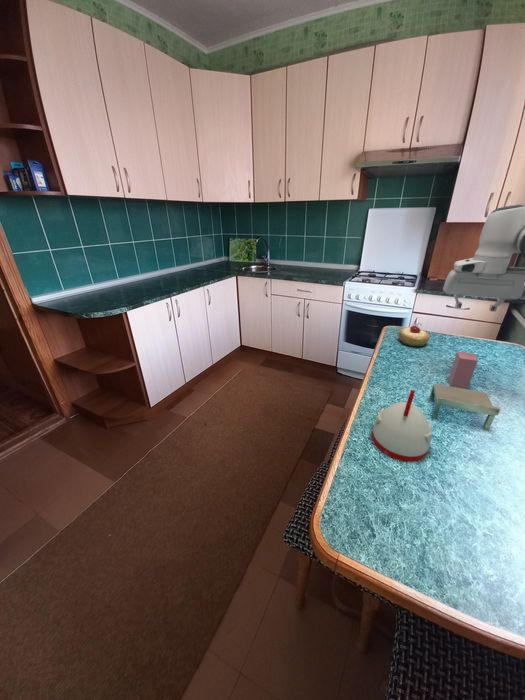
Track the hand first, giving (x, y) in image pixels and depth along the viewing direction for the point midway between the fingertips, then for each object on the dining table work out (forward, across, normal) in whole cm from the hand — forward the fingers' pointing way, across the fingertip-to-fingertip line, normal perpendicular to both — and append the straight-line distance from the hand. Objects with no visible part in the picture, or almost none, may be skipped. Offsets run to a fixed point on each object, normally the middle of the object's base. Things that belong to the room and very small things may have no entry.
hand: (474, 309), depth 93 cm
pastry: (+25, +12, -25) cm, 38 cm away
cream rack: (+25, +2, +23) cm, 34 cm away
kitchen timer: (+26, +18, +41) cm, 52 cm away
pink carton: (+25, -1, +5) cm, 26 cm away
